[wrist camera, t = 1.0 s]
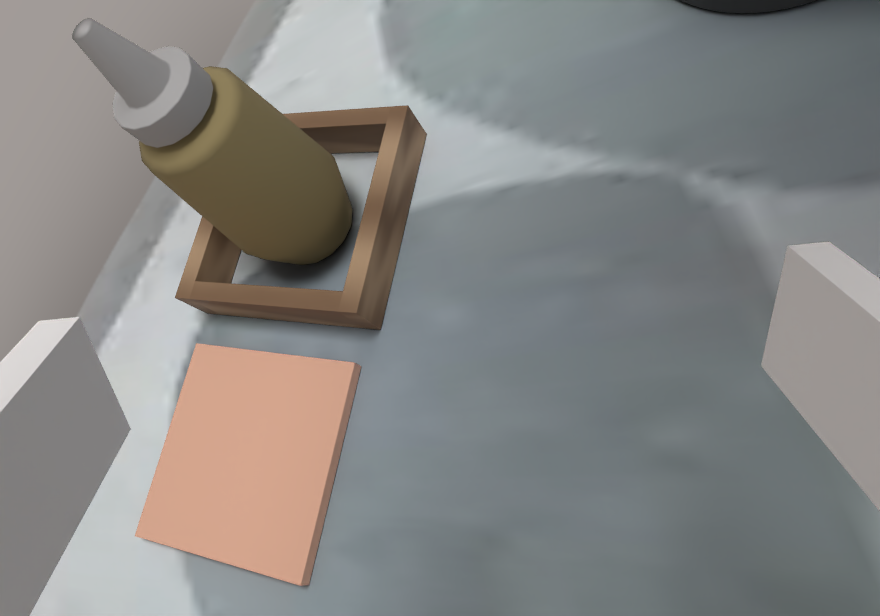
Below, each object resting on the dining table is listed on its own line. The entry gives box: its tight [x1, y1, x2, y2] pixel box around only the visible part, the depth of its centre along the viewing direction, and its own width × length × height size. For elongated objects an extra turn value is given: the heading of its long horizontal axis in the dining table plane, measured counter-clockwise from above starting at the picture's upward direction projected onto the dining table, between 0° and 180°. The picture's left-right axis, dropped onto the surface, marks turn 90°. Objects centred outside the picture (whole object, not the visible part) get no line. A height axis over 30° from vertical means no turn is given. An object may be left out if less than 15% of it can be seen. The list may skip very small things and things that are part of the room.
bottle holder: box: [175, 106, 427, 330], centre depth 40 cm, size 13×13×3 cm
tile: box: [135, 343, 361, 586], centre depth 37 cm, size 12×12×1 cm
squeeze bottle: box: [72, 18, 352, 265], centre depth 34 cm, size 8×8×18 cm
